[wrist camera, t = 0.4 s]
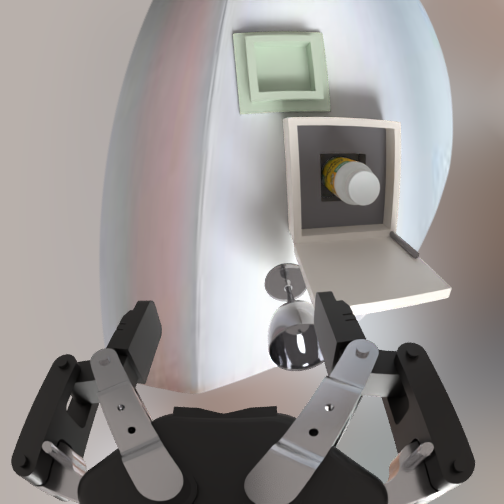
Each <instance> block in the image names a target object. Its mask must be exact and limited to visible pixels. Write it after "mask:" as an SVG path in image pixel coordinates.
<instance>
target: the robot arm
mask: <svg viewBox="0 0 504 504" xmlns="http://www.w3.org/2000/svg"><path fill="white" fill-rule="evenodd" d="M314 328H315V332H316V335H317V338H318V342H319V345H320V348H321V352H322V355H323V359H324V362H325V366H326V369H327V373H328V376H326V377H325V378H324V379H323V381H322V382H321V384H320V385H319V387H318V388H317V390H316V391H315V393H314V394H313V396H312V397H311V399H310V401H309V402H308V404H307V405H306V406H305V407H304V409H303V410H302V412H301V413H300V415H299V416H298V417H297V418H295V417H292V416H289V415H286V414H281V413H277V407H276V406H271V407H255V408H247V409H243V410H239V411H235V412H230V413H225V414H222V413H217V412H213V411H208V410H204V409H200V408H188V407H174V411H173V414H168V415H165V416H162V417H159V418H157V419H155V420H153V419H152V417H151V416H150V414H149V412H148V410H147V409H146V407H145V405H144V403H143V401H142V399H141V397H140V396H139V394H138V392H137V390H136V388H135V387H136V384H137V383H141V384H145V383H146V380H147V377H148V374H149V371H150V368H151V365H152V362H153V358H154V355H155V352H156V350H157V347H158V344H159V341H160V338H161V334H162V327H161V323H160V320H159V316H158V313H157V310H156V307H155V304H154V302H153V301H138V302H137V304H136V306H135V308H134V309H133V310H130V311H129V312H128V313H126V314H125V315H124V316H123V318H122V319H121V321H120V323H119V325H118V327H117V330H115V332H114V334H113V336H112V338H111V340H110V342H109V344H108V346H107V348H105V349H101V350H99V351H97V352H96V353H95V354H93V356H92V357H91V360H89V361H82V362H77V361H76V359H75V357H74V356H72V355H69V354H66V355H62V356H60V357H58V358H57V359H56V360H55V361H54V363H53V365H52V367H51V368H50V370H49V372H48V374H47V376H46V378H45V380H44V382H43V384H42V386H41V388H40V390H39V392H38V395H37V396H36V399H35V401H34V403H33V405H32V407H31V410H30V412H29V414H28V416H27V419H26V421H25V424H24V426H23V428H22V431H21V434H20V436H19V439H18V441H17V444H16V447H15V450H14V453H13V456H12V460H11V463H12V467H13V470H14V471H15V472H16V473H17V474H18V475H19V476H21V477H22V478H24V479H25V480H27V481H28V482H29V483H30V484H32V485H33V486H35V487H36V488H38V489H40V490H41V491H43V492H45V493H47V494H49V495H51V496H54V497H55V498H57V499H59V500H61V501H69V500H71V501H74V502H76V503H79V504H426V503H428V502H430V501H432V500H434V499H436V498H438V497H440V496H441V495H443V494H445V493H447V492H448V491H450V490H452V489H453V488H455V487H457V486H458V485H460V484H461V483H463V482H464V481H466V480H467V479H468V478H469V477H470V476H471V475H472V473H473V471H474V467H475V460H474V457H473V454H472V451H471V448H470V446H469V443H468V440H467V438H466V435H465V433H464V431H463V428H462V426H461V423H460V421H459V418H458V416H457V414H456V412H455V409H454V407H453V405H452V403H451V401H450V398H449V396H448V394H447V392H446V390H445V388H444V386H443V384H442V382H441V380H440V378H439V376H438V374H437V372H436V370H435V368H434V366H433V364H432V362H431V361H430V359H429V357H428V355H427V353H426V351H425V350H424V349H423V347H421V346H420V345H418V344H415V343H404V344H402V345H401V346H400V347H399V348H398V350H397V351H383V350H379V349H378V347H377V346H376V345H375V344H374V343H373V342H371V341H369V340H366V338H365V336H364V334H363V332H362V330H361V328H360V326H359V323H358V321H357V320H356V317H355V315H354V314H353V311H352V309H351V308H350V306H349V305H348V304H347V303H345V302H344V301H343V300H339V301H336V299H335V297H334V295H333V293H332V291H327V292H317V293H316V297H315V309H314ZM70 395H71V396H72V399H71V402H70V404H69V407H68V410H66V405H67V402H68V399H69V397H70ZM362 396H376V397H382V400H383V403H384V407H385V410H386V413H387V416H388V420H389V423H390V426H391V430H392V433H393V437H394V441H395V444H396V448H397V452H398V455H397V456H396V457H395V458H394V459H393V460H392V462H391V464H390V467H389V478H388V481H387V483H386V484H383V482H382V481H381V480H380V479H379V478H378V477H376V476H375V475H373V474H372V473H371V472H369V471H368V470H366V469H365V468H363V467H362V466H360V465H359V464H358V463H356V462H355V461H353V460H352V459H351V458H349V457H348V456H346V455H345V454H344V453H342V452H341V451H340V450H338V449H337V448H336V446H337V445H338V443H339V441H340V439H341V438H342V436H343V434H344V432H345V430H346V428H347V426H348V424H349V423H350V421H351V418H352V417H353V415H354V413H355V411H356V409H357V407H358V405H359V403H360V401H361V399H362ZM99 403H100V404H101V407H102V410H103V413H104V415H105V418H106V420H107V423H108V425H109V428H110V430H111V433H112V435H113V437H114V440H115V442H116V444H117V446H118V449H116V450H115V451H114V452H112V453H111V454H110V455H109V456H107V457H106V458H105V459H103V460H102V461H101V462H99V463H98V464H97V465H95V466H94V467H92V468H91V469H90V470H88V471H87V470H86V463H85V461H84V459H83V456H84V452H85V449H86V445H87V441H88V438H89V434H90V431H91V427H92V424H93V421H94V417H95V414H96V411H97V408H98V405H99Z"/></svg>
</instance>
